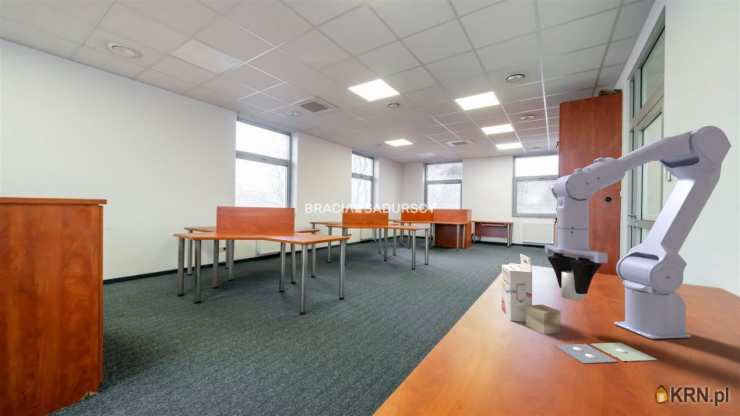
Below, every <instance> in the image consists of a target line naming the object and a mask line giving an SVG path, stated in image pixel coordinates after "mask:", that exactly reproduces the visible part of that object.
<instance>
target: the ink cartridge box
mask: <svg viewBox="0 0 740 416" xmlns="http://www.w3.org/2000/svg"><path fill="white" fill-rule="evenodd" d="M519 259H520V265H519V264H501V310H502V311H503V313H504V314H505V316H506V317H507V319H508V320H510V322H521V323H526V306H530V305H533V270H532V259H531V257H528V256H527V255H525V254H523V253H520V254H519Z"/></svg>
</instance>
